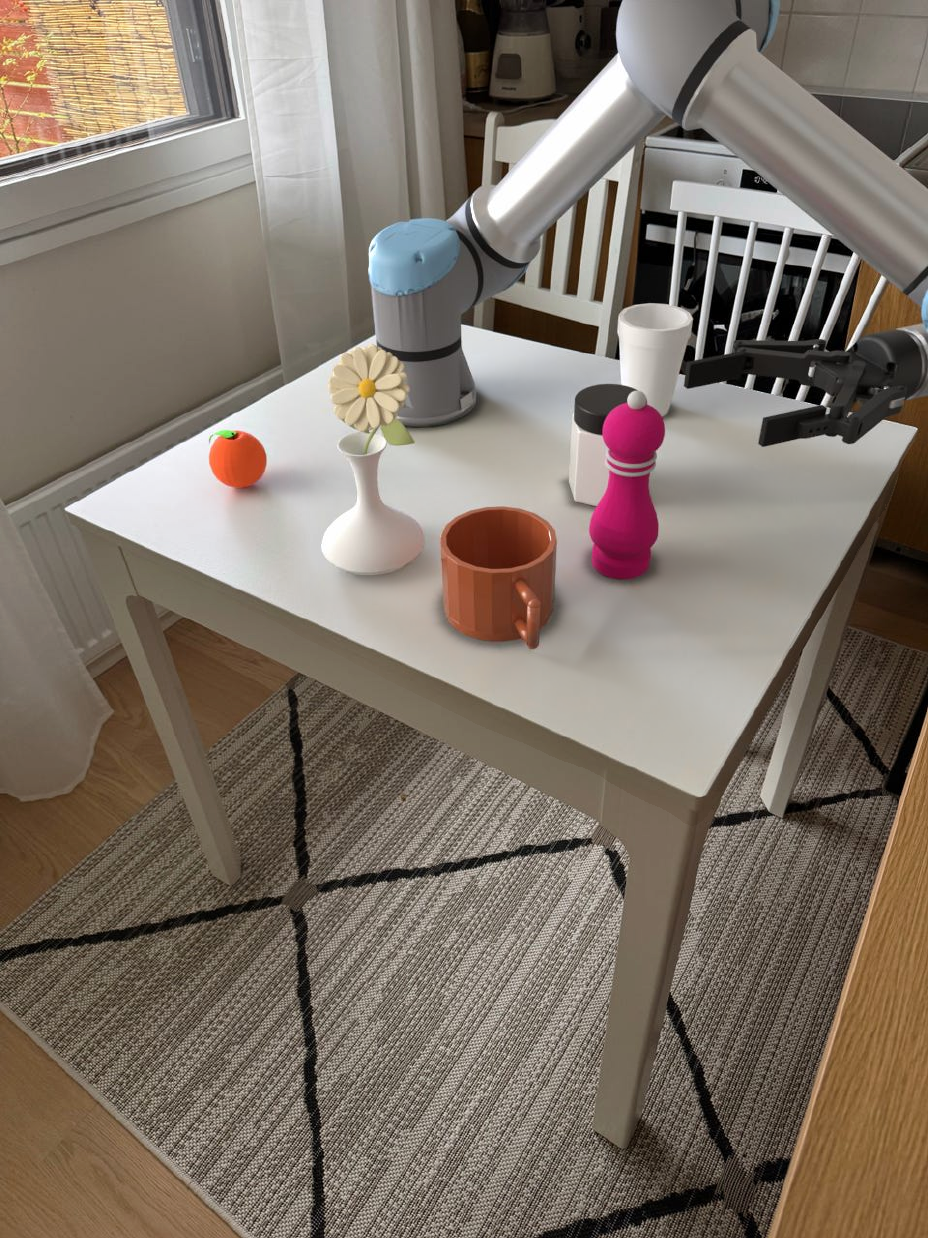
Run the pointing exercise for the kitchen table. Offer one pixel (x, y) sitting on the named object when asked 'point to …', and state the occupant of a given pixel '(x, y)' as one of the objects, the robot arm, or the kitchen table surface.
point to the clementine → (237, 458)
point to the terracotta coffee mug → (499, 574)
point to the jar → (592, 440)
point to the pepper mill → (627, 491)
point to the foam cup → (653, 350)
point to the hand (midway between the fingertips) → (722, 402)
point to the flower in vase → (370, 465)
